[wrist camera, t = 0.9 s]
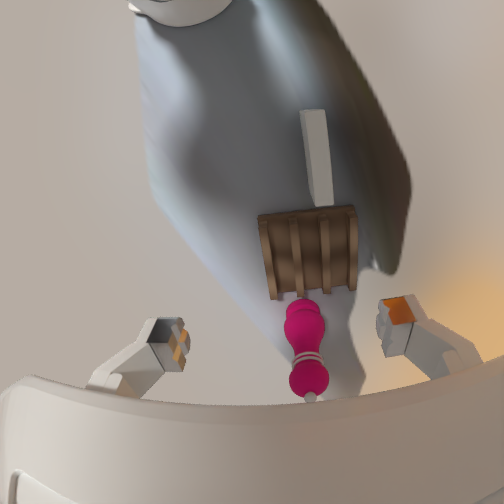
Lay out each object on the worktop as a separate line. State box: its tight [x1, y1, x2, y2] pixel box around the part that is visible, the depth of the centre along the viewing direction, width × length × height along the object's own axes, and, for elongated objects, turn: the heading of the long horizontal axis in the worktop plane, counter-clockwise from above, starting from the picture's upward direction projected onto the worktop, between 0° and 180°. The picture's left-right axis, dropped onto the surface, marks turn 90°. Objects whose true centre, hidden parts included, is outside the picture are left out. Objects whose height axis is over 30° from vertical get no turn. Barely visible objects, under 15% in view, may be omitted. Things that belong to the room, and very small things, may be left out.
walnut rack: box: [257, 205, 358, 300], centre depth 44 cm, size 14×15×4 cm
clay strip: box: [299, 109, 334, 207], centre depth 35 cm, size 12×2×7 cm, turn 10°
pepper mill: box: [284, 299, 329, 402], centre depth 44 cm, size 7×7×20 cm
